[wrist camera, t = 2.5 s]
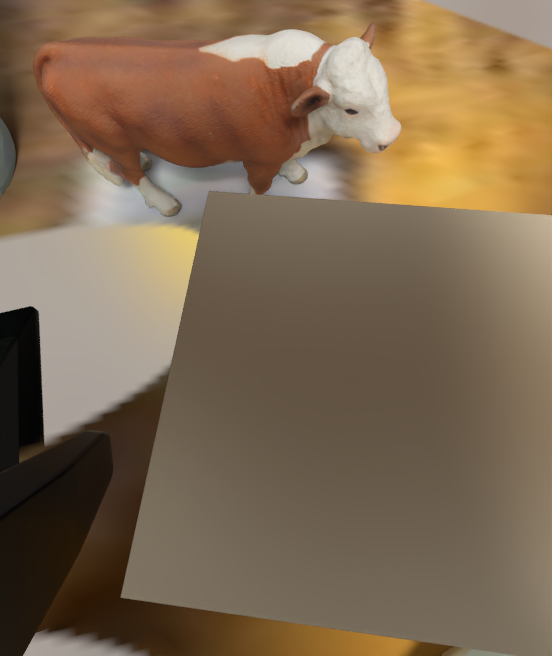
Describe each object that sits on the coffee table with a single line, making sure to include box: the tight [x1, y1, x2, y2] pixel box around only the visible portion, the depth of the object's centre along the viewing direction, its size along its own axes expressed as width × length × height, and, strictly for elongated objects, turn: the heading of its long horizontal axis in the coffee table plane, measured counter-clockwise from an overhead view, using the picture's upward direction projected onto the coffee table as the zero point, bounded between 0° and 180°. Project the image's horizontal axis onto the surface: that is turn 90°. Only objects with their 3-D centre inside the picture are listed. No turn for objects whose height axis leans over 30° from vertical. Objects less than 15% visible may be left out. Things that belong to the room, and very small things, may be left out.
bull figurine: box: [33, 22, 401, 216], centre depth 18 cm, size 4×13×8 cm, turn 78°
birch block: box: [121, 191, 552, 656], centre depth 11 cm, size 4×4×13 cm
